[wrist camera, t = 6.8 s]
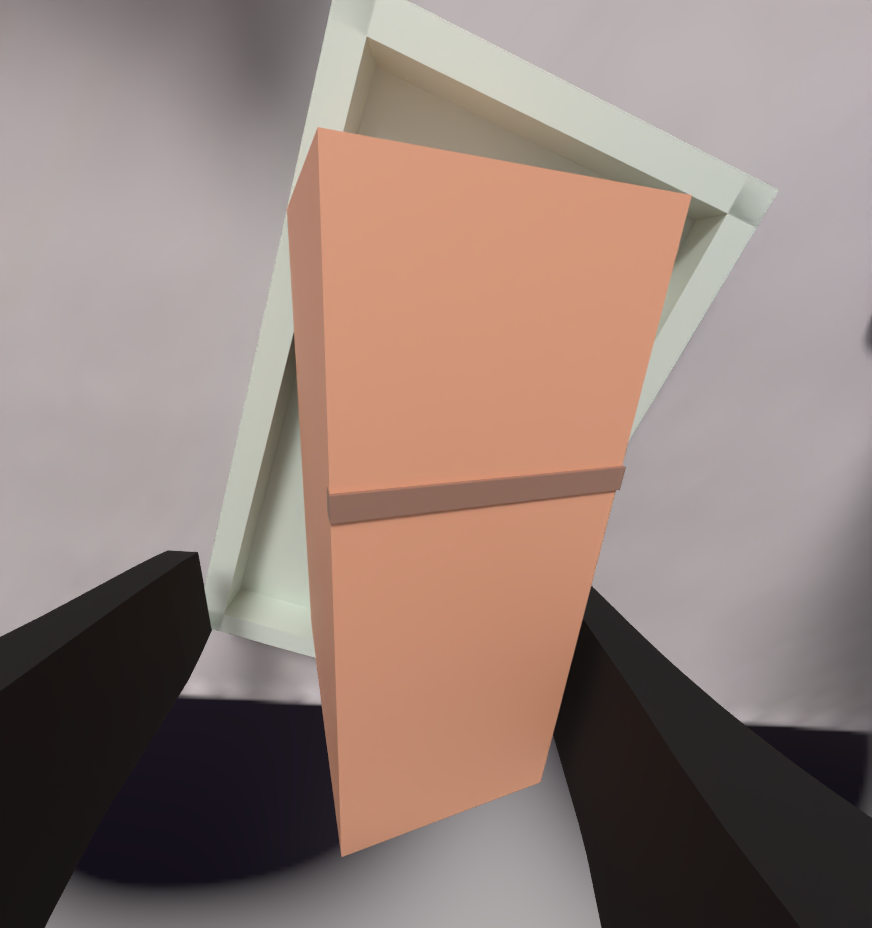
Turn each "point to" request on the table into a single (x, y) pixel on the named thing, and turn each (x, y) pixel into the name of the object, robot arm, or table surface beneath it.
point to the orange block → (459, 452)
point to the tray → (469, 132)
